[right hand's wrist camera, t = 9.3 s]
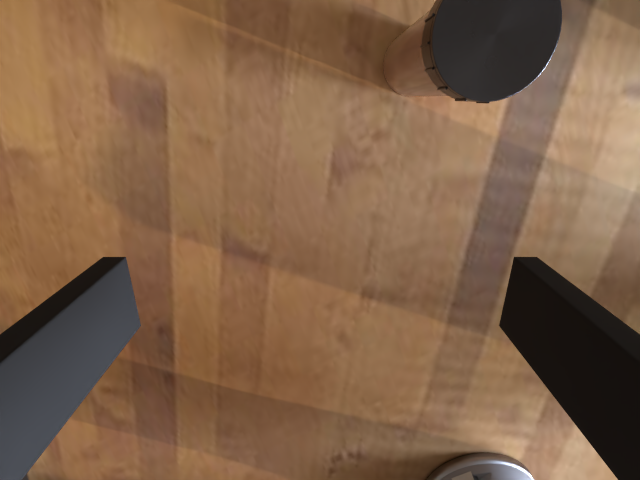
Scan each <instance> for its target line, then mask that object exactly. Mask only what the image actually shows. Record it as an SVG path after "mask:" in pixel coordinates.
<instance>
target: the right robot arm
mask: <svg viewBox="0 0 640 480" xmlns="http://www.w3.org/2000/svg"><path fill="white" fill-rule="evenodd" d="M140 326H141V324H140V320H139V315H138V311H137V306H136V301H135V297H134V292H133V288H132V283H131V278H130V274H129V269H128V265H127V260H126V257H103V258H101V259H100V260H99V261H97V262H96V263H95V264H93V265H92V266H91V267H89V268H88V269H87V270H85V271H84V272H83V273H81V274H80V275H79V276H77V277H76V278H75V279H73V280H72V281H71V282H70V283H68V284H67V285H66V286H64V287H63V288H62V289H60V290H59V291H58V292H56V293H55V294H54V295H52V296H51V297H50V298H48V299H47V300H46V301H44V302H43V303H42V304H40V305H39V306H38V307H36V308H35V309H34V310H32V311H31V312H30V313H28V314H27V315H26V316H24V317H23V318H22V319H20V320H19V321H18V322H16V323H15V324H14V325H12V326H11V327H10V328H8V329H7V330H6V331H4V332H3V333H2V334H1V335H0V480H22V479H23V477H24V476H25V475H26V474H27V472H28V471H29V470H30V468H31V467H32V466H33V465H34V463H35V462H36V461H37V459H38V458H39V457H40V455H41V454H42V453H43V452H44V450H45V449H46V448H47V446H48V445H49V444H50V443H51V441H52V440H53V439H54V437H55V436H56V435H57V433H58V432H59V431H60V430H61V428H62V427H63V426H64V424H65V423H66V422H67V421H68V419H69V418H70V417H71V415H72V414H73V413H74V411H75V410H76V409H77V408H78V406H79V405H80V404H81V402H82V401H83V400H84V399H85V397H86V396H87V395H88V393H89V392H90V391H91V389H92V388H93V387H94V386H95V384H96V383H97V382H98V380H99V379H100V378H101V377H102V375H103V374H104V373H105V371H106V370H107V369H108V367H109V366H110V365H111V364H112V362H113V361H114V360H115V358H116V357H117V356H118V355H119V353H120V352H121V351H122V349H123V348H124V347H125V345H126V344H127V343H128V342H129V340H130V339H131V338H132V336H133V335H134V334H135V333H136V331H137V330H138V329H139V327H140ZM499 326H500V327H501V329H502V330H503V331H504V333H505V334H506V335H507V336H508V338H509V339H510V340H511V342H512V343H513V344H514V345H515V347H516V348H517V349H518V351H519V352H520V353H521V355H522V356H523V357H524V358H525V360H526V361H527V362H528V364H529V365H530V366H531V367H532V369H533V370H534V371H535V373H536V374H537V375H538V377H539V378H540V379H541V380H542V382H543V383H544V384H545V386H546V387H547V388H548V389H549V391H550V392H551V393H552V395H553V396H554V397H555V399H556V400H557V401H558V402H559V404H560V405H561V406H562V408H563V409H564V410H565V411H566V413H567V414H568V415H569V417H570V418H571V419H572V421H573V422H574V423H575V424H576V426H577V427H578V428H579V430H580V431H581V432H582V433H583V435H584V436H585V437H586V439H587V440H588V441H589V443H590V444H591V445H592V446H593V448H594V449H595V450H596V452H597V453H598V454H599V455H600V457H601V458H602V459H603V461H604V462H605V463H606V465H607V466H608V467H609V468H610V470H611V471H612V472H613V474H614V475H615V476H616V477H617V479H618V480H640V335H639V334H638V333H637V332H636V331H634V330H633V329H632V328H630V327H629V326H628V325H626V324H625V323H624V322H622V321H621V320H620V319H618V318H617V317H616V316H614V315H613V314H612V313H610V312H609V311H608V310H606V309H605V308H604V307H602V306H601V305H600V304H598V303H597V302H596V301H594V300H593V299H592V298H590V297H589V296H588V295H586V294H585V293H584V292H582V291H581V290H580V289H578V288H577V287H576V286H574V285H573V284H572V283H570V282H569V281H568V280H567V279H565V278H564V277H563V276H561V275H560V274H559V273H557V272H556V271H555V270H553V269H552V268H551V267H549V266H548V265H547V264H545V263H544V262H543V261H541V260H540V259H539V258H537V257H514V260H513V265H512V269H511V274H510V278H509V283H508V288H507V292H506V297H505V301H504V306H503V311H502V315H501V320H500V324H499ZM426 480H534V479H533V477H532V475H531V473H530V472H529V470H528V469H527V468H526V467H525V466H524V465H523V464H522V463H520V462H519V461H517V460H515V459H513V458H511V457H508V456H505V455H501V454H495V453H476V454H469V455H465V456H461V457H458V458H455V459H453V460H451V461H448V462H446V463H445V464H443V465H441V466H440V467H438V468H437V469H436V470H435V471H434V472H432V473H431V474H430V476H429V477H428V478H427V479H426Z"/></svg>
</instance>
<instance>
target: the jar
mask: <svg viewBox="0 0 640 480" xmlns="http://www.w3.org/2000/svg"><path fill="white" fill-rule="evenodd" d="M429 12H430V11H429ZM429 12H428V13H426V14H425V15H424V16H423V17H421V18H420V19H419V20H418V21H416V22H415V23H414V24H413V25H412V26H410V27H409V28H408V29H407V30H405V31H404V32H403V33H402V34H400V35H399V36H398V37H397V38H396V39H395V40H394V41H393V42H392V43H391V44H390V46H389V47H388V49H387V51H386V54H385V57H384V63H383V70H384V76H385V79H386V81H387V83H388V85H389V86H390V87H391V88H392V89H393V90H394V91H395V92H396V93H398V94H400V95H403V96H407V97H424V96H448V95H446V94H445V93H443V92H442V91H440V90H437V87H436V86H435V84H434V83H433V82H432V81H431V79H430V77H429V75H428V74H427V72H425V71H424V70H425V66H424V62H423V57H422V48H420V45H422V34H423V30H424V25H425V22H424V20H425V19H426V18H427V17H428V14H429Z"/></svg>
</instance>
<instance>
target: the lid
mask: <svg viewBox="0 0 640 480" xmlns="http://www.w3.org/2000/svg"><path fill="white" fill-rule="evenodd" d="M424 22H425V25H424V30H423V34H422V45H420V48H422V57H423V62H424V66H425V70H424V71H425V72H427V74H428V75H429V77H430V79H431V81H432V82H433V83H434V84H435V86H436V87H437V90H440V91H442V92H443V93H445V94H446V95H448V96H450V97H452V98H454V99H455V101H471V102H476V103H489V102H491V101H498V100H502V99H505V98H508V97H510V96H513V95H515V94H516V93H518V92H520V91H522V90H523V89H524V88H526V87H527V86H528V85H530V84H531V83H532V82H533V81H534V80H535V79H536V78H537V77H538V76H539V75H540V74H541V72H542V71H543V70H544V68H545V67H546V66H547V64H548V62H549V61H550V59H551V57H552V55H553V53H554V51H555V49H556V46H557V43H558V40H559V36H560V31H561V24H562V9H561V2H560V0H436V2H435V3H434V5H433V7H432V8H431V10H430V12H429V14H428V17H427V18H426V19H425V20H424Z"/></svg>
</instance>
